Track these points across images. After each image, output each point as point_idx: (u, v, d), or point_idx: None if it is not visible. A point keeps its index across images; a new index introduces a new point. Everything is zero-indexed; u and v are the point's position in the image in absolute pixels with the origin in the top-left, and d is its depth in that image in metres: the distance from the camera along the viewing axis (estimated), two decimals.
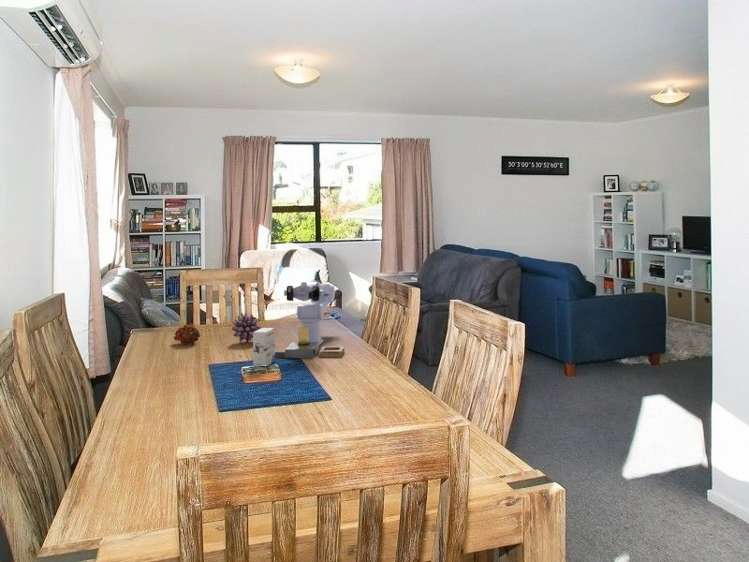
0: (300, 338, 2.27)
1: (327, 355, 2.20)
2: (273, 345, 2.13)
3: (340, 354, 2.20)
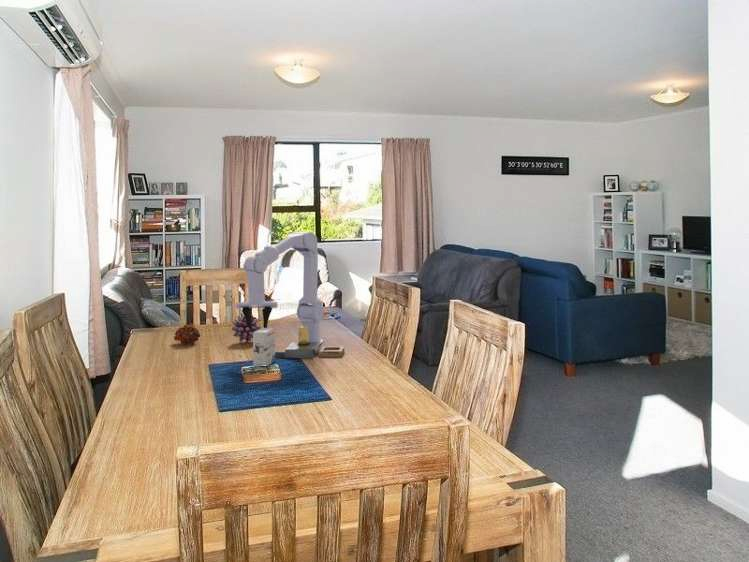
0: (300, 338, 2.27)
1: (327, 355, 2.20)
2: (273, 345, 2.13)
3: (340, 354, 2.20)
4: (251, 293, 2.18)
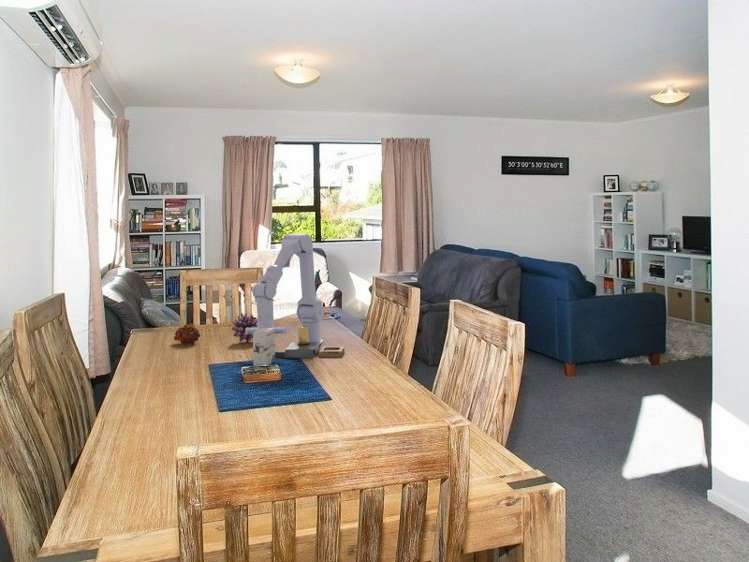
0: (300, 338, 2.27)
1: (327, 355, 2.20)
2: (273, 345, 2.13)
3: (340, 354, 2.20)
4: (260, 319, 2.19)
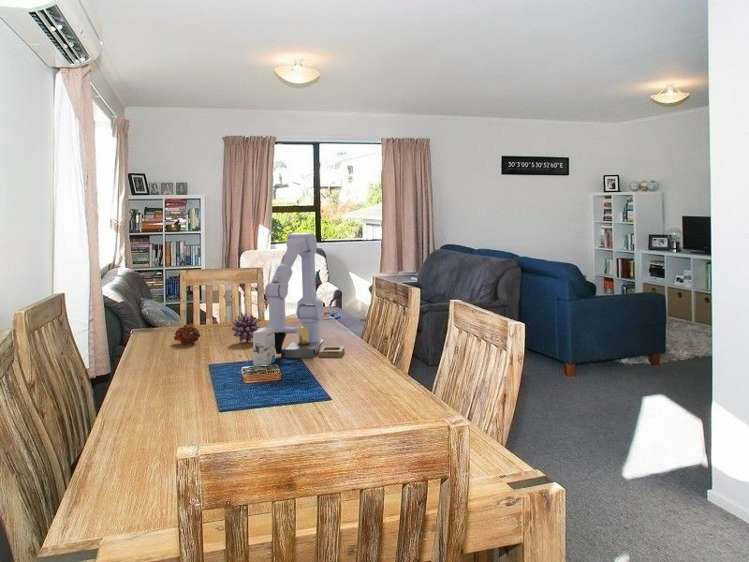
0: (300, 338, 2.27)
1: (327, 355, 2.20)
2: (273, 345, 2.13)
3: (340, 354, 2.20)
4: (272, 319, 2.19)
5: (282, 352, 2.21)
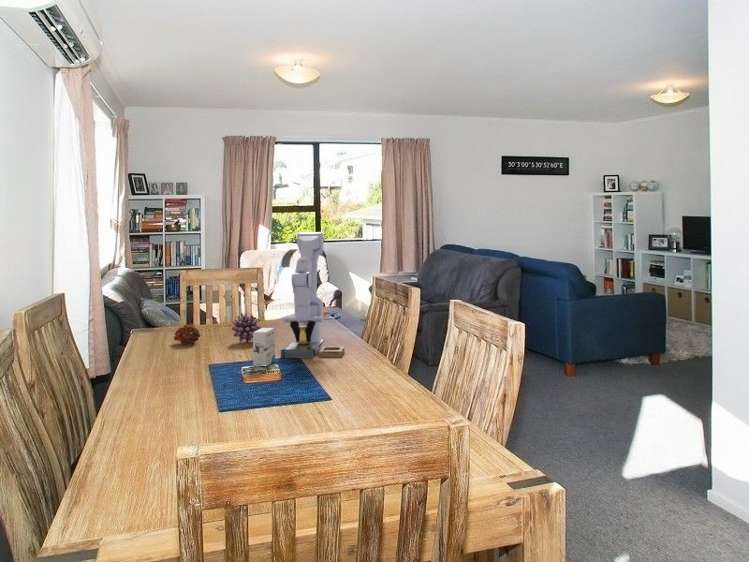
0: (300, 338, 2.27)
1: (327, 355, 2.20)
2: (273, 345, 2.13)
3: (340, 354, 2.20)
4: (298, 308, 2.25)
5: (282, 352, 2.21)
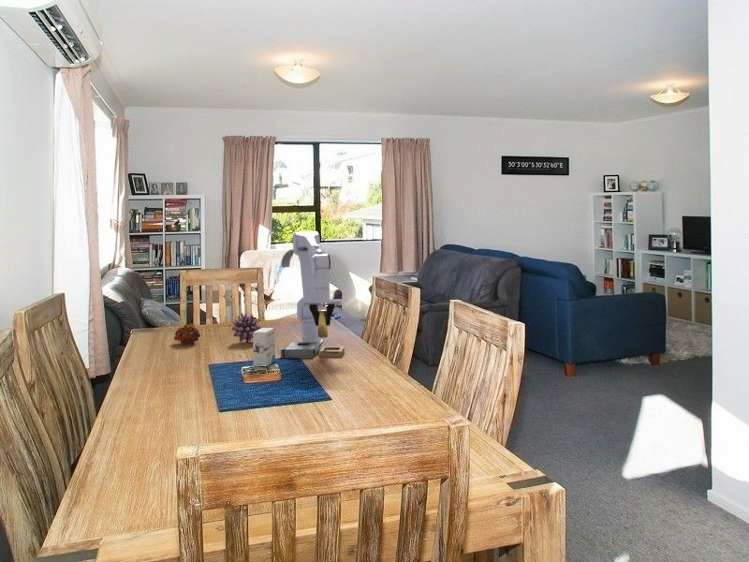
0: (320, 322, 2.23)
1: (327, 355, 2.20)
2: (273, 345, 2.13)
3: (340, 354, 2.20)
4: (317, 290, 2.20)
5: (282, 352, 2.21)
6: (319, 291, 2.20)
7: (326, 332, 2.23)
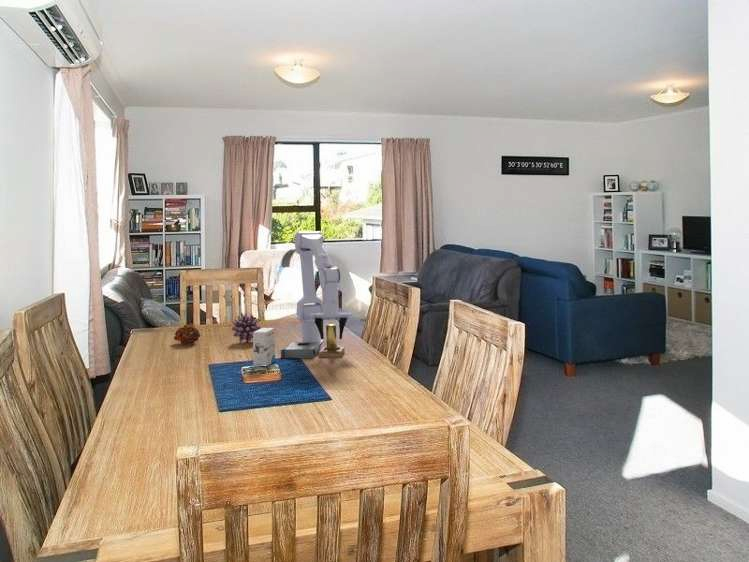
0: (329, 337, 2.22)
1: (327, 355, 2.20)
2: (273, 345, 2.13)
3: (340, 354, 2.20)
4: (326, 304, 2.20)
5: (282, 352, 2.21)
6: (328, 305, 2.19)
7: (335, 347, 2.23)
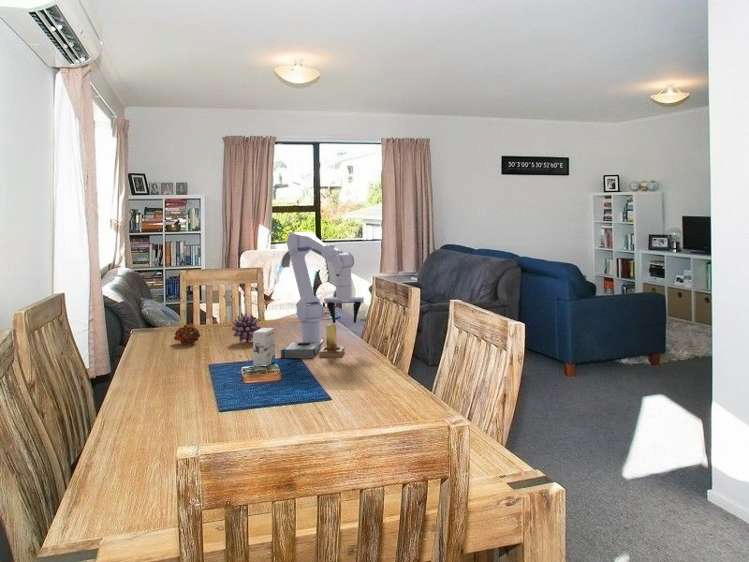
0: (329, 337, 2.22)
1: (327, 355, 2.20)
2: (273, 345, 2.13)
3: (340, 354, 2.20)
4: (339, 289, 2.26)
5: (282, 352, 2.21)
6: (341, 289, 2.26)
7: (335, 347, 2.23)
